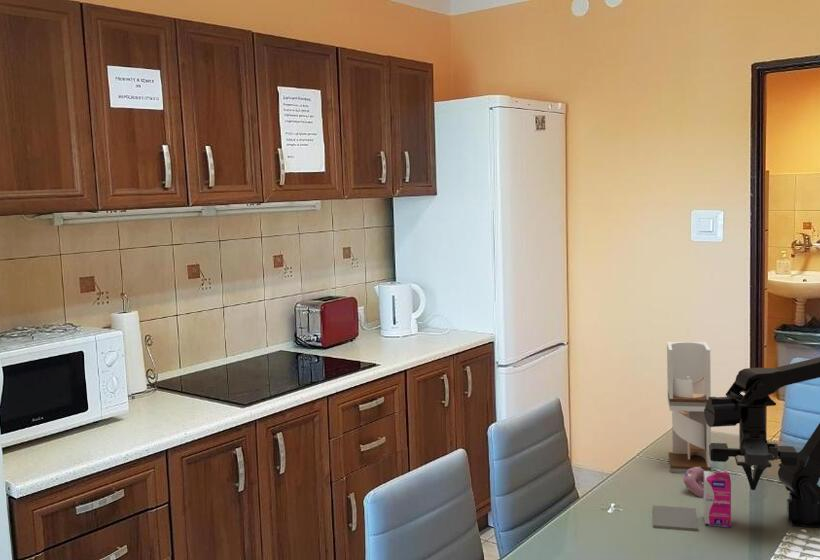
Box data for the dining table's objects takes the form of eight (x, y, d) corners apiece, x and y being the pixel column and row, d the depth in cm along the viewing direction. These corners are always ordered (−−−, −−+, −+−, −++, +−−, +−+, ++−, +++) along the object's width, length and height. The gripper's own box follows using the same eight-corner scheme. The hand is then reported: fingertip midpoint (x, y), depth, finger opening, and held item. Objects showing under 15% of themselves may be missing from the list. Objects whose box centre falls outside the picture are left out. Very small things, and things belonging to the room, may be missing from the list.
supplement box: (704, 526, 181) (704, 479, 179) (703, 516, 186) (703, 470, 185) (731, 528, 179) (731, 480, 178) (729, 518, 184) (729, 471, 183)
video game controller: (702, 489, 207) (690, 465, 208) (718, 485, 204) (705, 460, 205) (689, 501, 199) (677, 476, 200) (705, 497, 196) (693, 471, 198)
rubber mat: (695, 510, 189) (695, 508, 189) (698, 531, 178) (698, 528, 178) (653, 507, 192) (652, 505, 192) (653, 527, 181) (653, 525, 181)
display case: (668, 458, 227) (667, 341, 223) (707, 460, 224) (706, 342, 220) (670, 472, 216) (669, 349, 212) (711, 474, 213) (710, 350, 209)
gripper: (712, 432, 173) (712, 500, 174) (804, 436, 167) (803, 505, 169) (708, 418, 183) (709, 482, 185) (794, 422, 178) (794, 487, 179)
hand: (752, 489), depth 179 cm, fingers closed
